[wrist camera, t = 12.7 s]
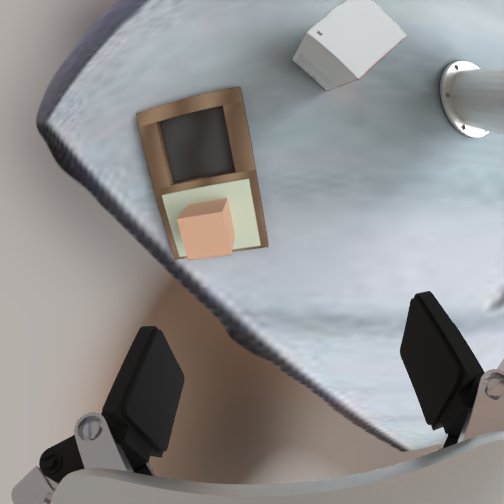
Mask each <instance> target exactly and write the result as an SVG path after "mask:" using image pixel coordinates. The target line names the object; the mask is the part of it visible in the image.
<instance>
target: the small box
mask: <svg viewBox="0 0 504 504" xmlns="http://www.w3.org/2000/svg"><path fill="white" fill-rule="evenodd" d="M405 37H407V35H406V33H405V32H404V31H403V30H402V29H401V28H400V27H399V26H398V25H397V24H396V23H395V22H394V21H393V20H392V19H391V18H390V17H389V16H388V15H387V14H386V13H385V12H384V11H383V10H382V9H381V8H380V7H379V6H378V5H377V4H376V3H374V2H373V1H372V0H345V1H344V2H342V3H341V4H340V5H338V6H337V7H335V8H334V9H333V10H331V11H330V12H329V13H328V14H326V16H324V17H323V18H322V19H321V20H320V21H319V22H317V23H316V24H315V25H314V26H313V27H312V28H311V29H309V30H308V31H307V32H306V34H305V36H304V37H303V39H302V41H301V43H300V45H299V47H298V49H297V51H296V53H295V55H294V56H293V58H292V60H293V61H294V62H295V63H296V64H297V65H299V66H300V67H301V68H302V69H303V70H304V71H306V72H307V73H308V74H309V75H310V76H311V77H312V78H313V79H315V80H316V81H317V82H318V83H319V84H320V85H321V86H322V87H323V88H324V89H325V90H326V91H329V90H331V89H334V88H336V87H339V86H342V85H344V84H347V83H350V82H352V81H355V80H358V79H360V78H361V77H362V76H364V75H365V74H366V73H367V72H368V71H369V70H370V69H371V68H372V67H373V66H374V65H376V64H377V63H378V62H379V61H380V60H381V59H382V58H383V57H384V56H385V55H386V54H388V53H389V52H390V51H391V50H392V49H393V48H394V47H395V46H396V45H398V44H399V43H400V42H401V41H402V40H403V39H404V38H405Z"/></svg>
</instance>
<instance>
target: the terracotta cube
mask: <svg viewBox="0 0 504 504" xmlns="http://www.w3.org/2000/svg"><path fill="white" fill-rule="evenodd" d="M177 222H178V226H179V230H180V233H181V237H182V240H183V244H184V248H185V251H186V255H187V258H188V260H194V259H202V258H210V257H218V256H226V255H231V254H232V249H233V245H234V240H235V231H234V226H233V221H232V216H231V211H230V206H229V201H228V198H225V199H219V200H213V201H207V202H201V203H195V204H189V205H187V207H186V208H185V209H184V211H183V212H182V213H181V214H180V216H179V217H178V218H177Z"/></svg>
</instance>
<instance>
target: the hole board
mask: <svg viewBox="0 0 504 504" xmlns="http://www.w3.org/2000/svg"><path fill="white" fill-rule="evenodd" d="M221 106H223V107H221ZM216 107H219V108H216ZM211 108H214V109H211ZM207 109H210V110H207ZM202 110H205V111H202ZM198 111H201V112H198ZM194 112H197V113H194ZM190 113H193V114H190ZM186 114H189V115H186ZM136 115H137V120H138V125H139V129H140V134H141V138H142V143H143V147H144V151H145V156H146V160H147V164H148V168H149V172H150V176H151V180H152V183H153V187H154V191H155V195H156V198H157V202H158V205H159V209H160V212H161V216H162V219H163V223H164V226H165V230H166V233H167V236H168V239H169V243H170V246H171V249H172V252H173V255H174V258H175V260H177V259H184V258H187V255H186V251H185V248H184V244H183V240H182V237H181V233H180V230H179V226H178V222H177V218H178V217H179V216H180V214H181V213H182V212H183V211H184V209H185V208H186V207H187V205H189V204H195V203H201V202H207V201H213V200H219V199H225V198H228V201H229V206H230V211H231V216H232V221H233V226H234V231H235V240H234V245H233V249H232V252H235V251H242V250H249V249H257V248H264V247H268V238H267V232H266V226H265V220H264V214H263V208H262V202H261V196H260V190H259V185H258V179H257V173H256V167H255V162H254V156H253V150H252V145H251V139H250V134H249V128H248V123H247V118H246V112H245V107H244V101H243V96H242V91H241V87H235V88H230V89H225V90H220V91H215V92H211V93H206V94H202V95H198V96H194V97H190V98H186V99H182V100H179V101H175V102H171V103H168V104H165V105H161V106H158V107H155V108H152V109H148V110H145V111H142V112H139V113H136ZM182 115H185V116H182ZM178 116H181V117H178ZM175 117H177V118H175ZM171 118H173V119H171ZM167 119H170V120H167ZM164 120H166V121H164ZM160 121H163V122H160ZM160 124H161V126H160ZM161 128H162V130H161ZM162 133H163V135H162ZM163 137H164V139H163ZM164 142H165V144H164ZM165 146H166V148H165ZM166 151H167V153H166ZM167 155H168V157H167ZM168 159H169V161H168ZM169 164H170V166H169ZM170 168H171V170H170ZM230 171H233V172H230ZM171 172H172V174H171ZM224 172H228V173H224ZM219 173H222V174H219ZM213 174H217V175H213ZM208 175H211V176H208ZM172 176H173V178H172ZM203 176H206V177H203ZM198 177H201V178H198ZM193 178H196V179H193ZM188 179H191V180H188ZM173 180H174V182H177V183H174V182H173ZM184 180H186V181H184ZM179 181H182V182H179Z"/></svg>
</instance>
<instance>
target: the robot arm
mask: <svg viewBox="0 0 504 504" xmlns="http://www.w3.org/2000/svg"><path fill="white" fill-rule="evenodd" d="M440 95H441V100H442V105H443V107H444V110H445V113H446V115H447V117H448V119H449V120H450V122H451V123H452V125H453V126H454V127H455V128H456V129H457V130H458V131H459V132H461V133H462V134H464V135H466V136H469V137H473V138H479V137H483V136H485V135H486V134H488V133H489V132H494V133H498V134H502V135H504V68H483V69H480V68H478V67H477V66H476V65H474V64H473V63H470V62H468V61H455V62H452V63H450V64H449V65H448V66H447V67H446V68H445V70H444V72H443V74H442V77H441V81H440ZM400 354H401V358H402V360H403V363H404V365H405V367H406V370H407V372H408V375H409V377H410V380H411V382H412V385H413V387H414V390H415V392H416V395H417V398H418V400H419V403H420V406H421V408H422V411H423V414H424V417H425V420H426V422H427V424H428V425H431V426H432V429H433V430H436V429H439V428H441V427H444V430H445V433H446V434H445V437H444V439H443V442H442V444H441V446H440V449H439V450H438V451H436V452H433V453H430V454H428V455H425V456H422V457H419V458H416V459H412V460H409V461H406V462H403V463H399V464H396V465H392V466H389V467H385V468H381V469H378V470H373V471H369V472H364V473H360V474H355V475H350V476H344V477H339V478H332V479H326V480H318V481H310V482H300V483H288V484H272V485H271V484H269V485H231V484H212V483H200V482H191V481H182V480H175V479H168V478H161V477H157V476H156V474H155V472H154V470H153V469H152V467H151V465H150V463H149V458H150V456H155V457H162V454H163V452H165V451H166V450H167V447H168V444H169V440H170V435H171V431H172V427H173V423H174V419H175V415H176V411H177V407H178V403H179V399H180V396H181V392H182V388H183V384H184V374H183V372H182V370H181V368H180V366H179V364H178V363H177V361H176V359H175V357H174V355H173V353H172V351H171V349H170V347H169V345H168V343H167V341H166V339H165V336H164V334H163V332H162V331H161V330H158V328H157V327H156V326H145V327H141V328H140V329H139V331H138V333H137V335H136V337H135V339H134V341H133V343H132V345H131V347H130V350H129V352H128V354H127V356H126V358H125V360H124V363H123V364H122V366H121V369H120V371H119V373H118V375H117V377H116V379H115V382H114V384H113V386H112V388H111V391H110V393H109V395H108V397H107V400H106V402H105V404H104V407H103V409H102V410H103V411H102V414H99V413H95V412H93V413H92V412H90V413H88V414H85V415H83V416H82V417H81V418H80V419H79V420H78V421H77V423H76V425H75V429H74V433H75V435H73V436H72V437H70V438H68V439H66V440H64V441H62V442H60V443H58V444H57V445H55V446H53V447H51V448H49V449H47V450H46V451H45V452H44V453H43V454H42V455H41V458H40V463H39V465H40V468H39V467H37V466H36V467H35V468H34V469H33V470H31V471H30V472H29V473H28V474H27V475H26V476H25V477H24V478H23V479H22V480H21V481H20V482H19V483H18V484H17V485H16V486H15V487H14V488H13V490H12V500H13V503H14V504H504V372H503V371H501V370H497V369H493V370H489V371H487V372H484V371H483V369H482V367H481V365H480V364H479V362H478V360H477V359H476V357H475V355H474V354H473V352H472V350H471V349H470V347H469V346H468V344H467V342H466V341H465V339H464V338H463V336H462V335H461V333H460V332H459V330H458V328H457V327H456V325H455V324H454V323H453V322H452V321H451V319H450V318H449V316H448V315H447V314H446V312H445V311H444V309H443V308H442V306H441V305H440V304H439V302H438V301H437V299H436V298H435V297H434V295H433V294H432V293H431V292H430V291H427V292H422V293H418V294H416V295H415V296H414V298H413V299H411V301H410V307H409V312H408V317H407V322H406V326H405V331H404V335H403V339H402V344H401V348H400Z"/></svg>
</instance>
